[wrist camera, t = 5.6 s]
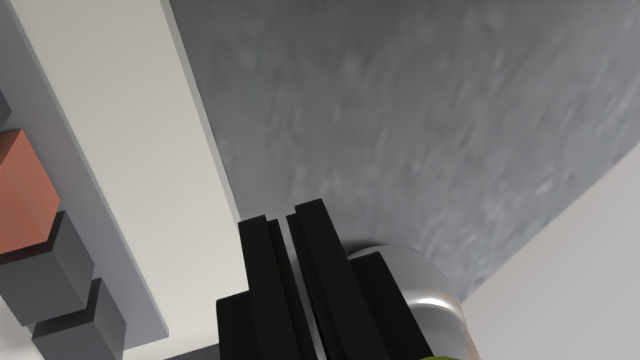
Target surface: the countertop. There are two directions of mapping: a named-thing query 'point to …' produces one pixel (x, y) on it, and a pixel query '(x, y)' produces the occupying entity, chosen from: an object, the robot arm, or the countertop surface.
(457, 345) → the plastic bottle
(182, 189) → the breaker panel
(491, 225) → the countertop surface
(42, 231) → the block
